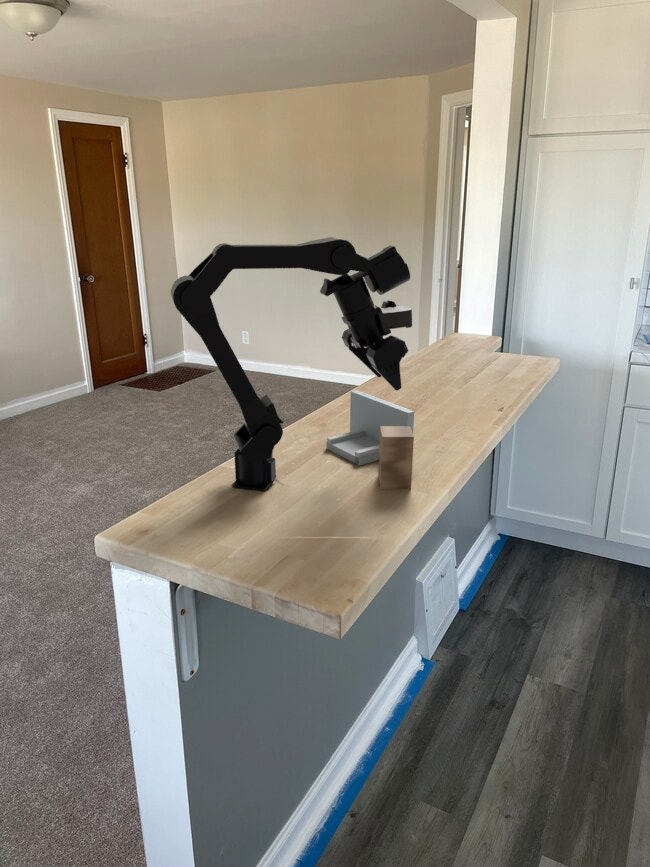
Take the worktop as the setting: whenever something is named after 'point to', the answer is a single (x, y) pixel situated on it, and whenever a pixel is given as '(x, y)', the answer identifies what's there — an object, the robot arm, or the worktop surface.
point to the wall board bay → (367, 427)
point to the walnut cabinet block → (395, 457)
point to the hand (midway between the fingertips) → (389, 382)
